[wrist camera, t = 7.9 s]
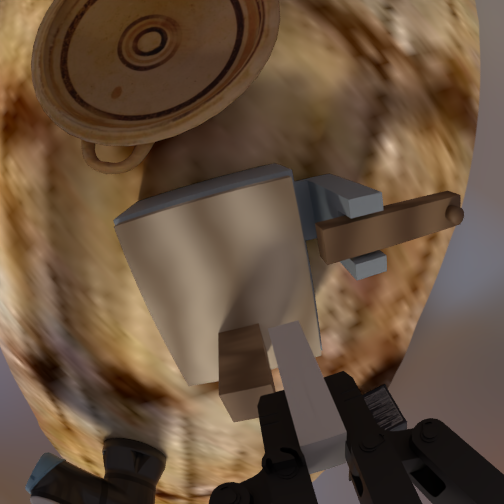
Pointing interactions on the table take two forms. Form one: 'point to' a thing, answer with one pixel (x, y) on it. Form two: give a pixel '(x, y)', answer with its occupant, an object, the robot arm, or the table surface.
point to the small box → (385, 409)
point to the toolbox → (308, 202)
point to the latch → (387, 226)
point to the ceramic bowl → (146, 67)
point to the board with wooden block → (225, 285)
